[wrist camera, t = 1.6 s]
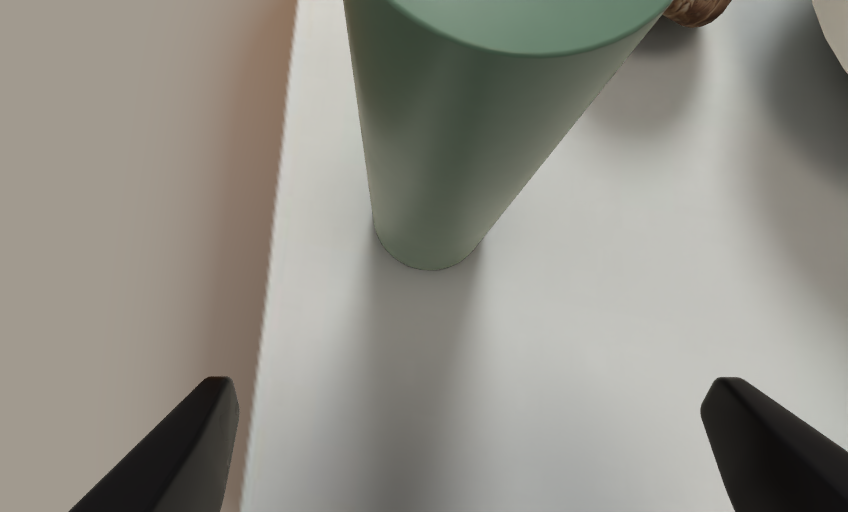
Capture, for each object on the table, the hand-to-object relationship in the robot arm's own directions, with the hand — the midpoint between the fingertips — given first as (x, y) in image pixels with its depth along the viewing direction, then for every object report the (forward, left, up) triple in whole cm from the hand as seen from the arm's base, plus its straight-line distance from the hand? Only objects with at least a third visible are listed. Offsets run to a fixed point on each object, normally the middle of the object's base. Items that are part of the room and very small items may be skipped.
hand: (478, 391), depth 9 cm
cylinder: (+7, -1, -13) cm, 15 cm away
